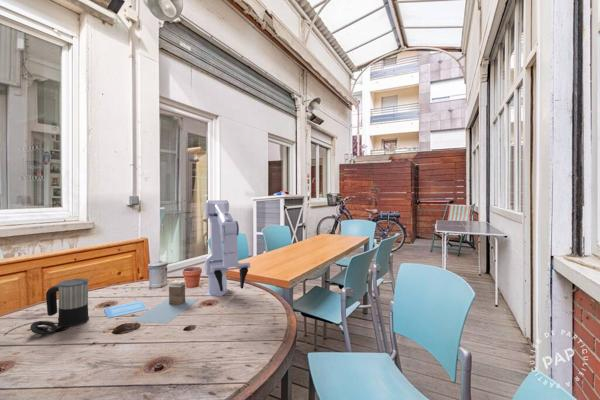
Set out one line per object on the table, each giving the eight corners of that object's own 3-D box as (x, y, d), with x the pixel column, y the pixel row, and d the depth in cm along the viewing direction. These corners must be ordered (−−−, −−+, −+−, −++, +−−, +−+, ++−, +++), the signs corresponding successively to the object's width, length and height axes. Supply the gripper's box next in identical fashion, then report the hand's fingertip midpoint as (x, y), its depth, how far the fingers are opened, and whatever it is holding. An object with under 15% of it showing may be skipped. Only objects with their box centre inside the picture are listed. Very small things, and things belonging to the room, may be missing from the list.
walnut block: (174, 301, 128) (174, 280, 128) (185, 301, 127) (185, 280, 127) (169, 304, 124) (168, 283, 124) (180, 305, 123) (180, 283, 123)
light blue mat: (168, 299, 132) (168, 298, 132) (198, 300, 130) (198, 299, 130) (131, 322, 108) (131, 321, 108) (167, 324, 106) (167, 323, 106)
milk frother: (93, 315, 114) (92, 277, 114) (76, 333, 99) (75, 289, 99) (48, 320, 110) (48, 280, 110) (24, 340, 95) (23, 294, 95)
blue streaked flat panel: (141, 303, 128) (141, 300, 128) (147, 312, 119) (147, 308, 119) (104, 311, 120) (104, 308, 120) (108, 321, 110) (108, 317, 110)
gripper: (211, 255, 107) (213, 293, 105) (251, 251, 113) (253, 288, 111) (209, 254, 113) (210, 290, 112) (247, 251, 119) (248, 285, 117)
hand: (231, 289), depth 112 cm, fingers open, 7 cm apart
